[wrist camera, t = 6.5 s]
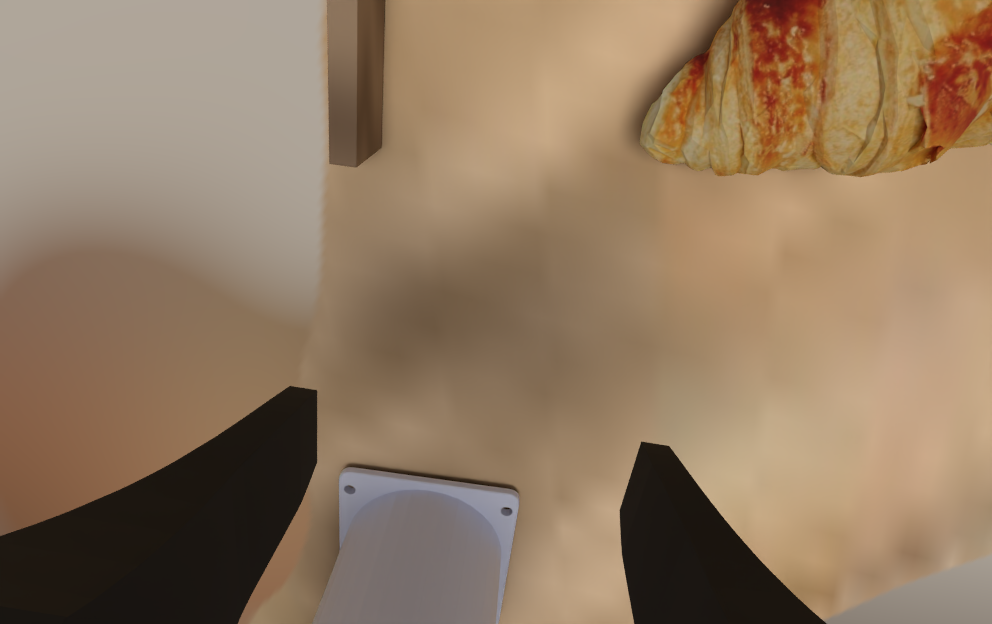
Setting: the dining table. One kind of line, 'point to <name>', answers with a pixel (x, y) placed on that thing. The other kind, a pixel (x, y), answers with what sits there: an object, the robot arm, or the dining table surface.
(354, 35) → the frame
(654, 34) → the dining table surface
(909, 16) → the croissant
